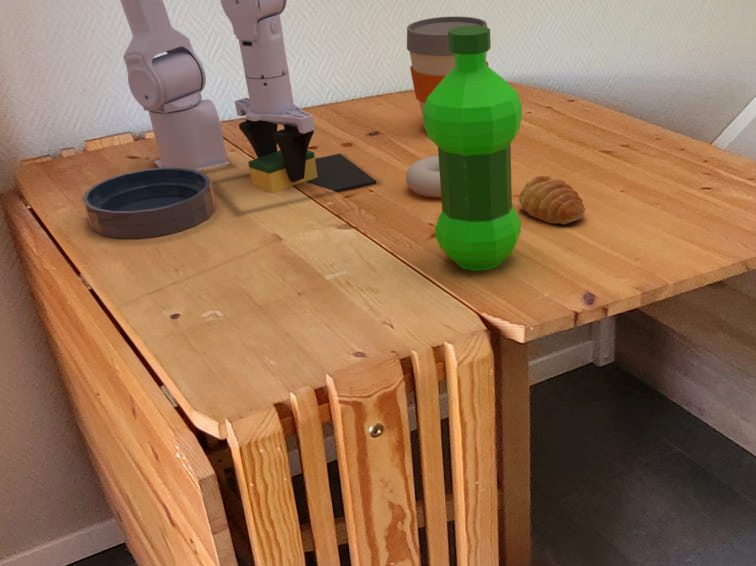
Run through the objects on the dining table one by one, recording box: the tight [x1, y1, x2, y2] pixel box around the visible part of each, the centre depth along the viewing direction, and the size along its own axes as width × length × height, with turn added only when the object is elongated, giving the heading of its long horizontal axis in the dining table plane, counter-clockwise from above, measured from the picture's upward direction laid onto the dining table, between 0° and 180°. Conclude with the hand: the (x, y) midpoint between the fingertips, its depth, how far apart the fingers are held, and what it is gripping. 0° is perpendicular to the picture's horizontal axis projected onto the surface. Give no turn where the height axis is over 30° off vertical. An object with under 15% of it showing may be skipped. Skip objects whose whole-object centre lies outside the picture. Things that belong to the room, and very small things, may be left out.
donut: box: [405, 155, 441, 199], centre depth 132 cm, size 10×4×10 cm
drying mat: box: [305, 153, 377, 193], centre depth 137 cm, size 20×14×1 cm
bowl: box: [81, 167, 217, 240], centre depth 127 cm, size 16×16×4 cm
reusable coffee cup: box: [406, 15, 489, 132], centre depth 149 cm, size 12×13×15 cm
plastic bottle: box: [423, 26, 523, 272], centre depth 106 cm, size 10×10×25 cm
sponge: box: [247, 150, 317, 194], centre depth 135 cm, size 8×5×4 cm, turn 138°
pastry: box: [518, 175, 586, 225], centre depth 123 cm, size 9×7×4 cm
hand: (284, 175), depth 136 cm, fingers open, 5 cm apart
